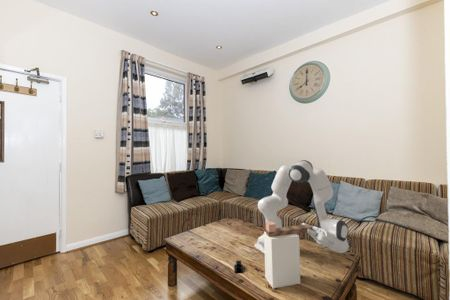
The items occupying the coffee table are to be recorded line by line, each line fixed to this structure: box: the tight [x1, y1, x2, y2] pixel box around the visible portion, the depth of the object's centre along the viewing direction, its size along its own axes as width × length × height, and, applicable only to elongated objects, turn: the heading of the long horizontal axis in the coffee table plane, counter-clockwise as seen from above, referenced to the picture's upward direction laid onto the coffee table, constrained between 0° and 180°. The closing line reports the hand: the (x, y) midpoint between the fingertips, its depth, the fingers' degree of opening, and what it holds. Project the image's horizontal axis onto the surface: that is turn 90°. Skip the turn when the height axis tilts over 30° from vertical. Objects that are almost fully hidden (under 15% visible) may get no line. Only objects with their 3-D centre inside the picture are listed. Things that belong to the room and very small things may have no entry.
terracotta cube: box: [265, 221, 276, 232], centre depth 115 cm, size 4×4×4 cm
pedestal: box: [263, 231, 301, 289], centre depth 117 cm, size 16×10×26 cm, turn 102°
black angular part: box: [233, 260, 245, 274], centre depth 129 cm, size 12×7×5 cm, turn 179°
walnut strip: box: [266, 223, 313, 237], centre depth 118 cm, size 26×4×2 cm, turn 102°
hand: (304, 227), depth 120 cm, fingers closed on walnut strip, 4 cm apart
